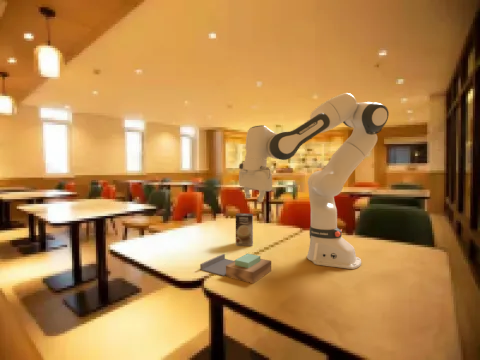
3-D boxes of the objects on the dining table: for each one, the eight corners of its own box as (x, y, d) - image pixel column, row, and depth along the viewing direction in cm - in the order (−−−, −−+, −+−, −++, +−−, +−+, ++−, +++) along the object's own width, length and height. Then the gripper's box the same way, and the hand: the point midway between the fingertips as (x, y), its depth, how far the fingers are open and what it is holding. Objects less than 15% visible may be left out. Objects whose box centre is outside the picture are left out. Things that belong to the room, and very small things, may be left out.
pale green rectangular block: (260, 261, 109) (260, 256, 109) (248, 268, 101) (248, 262, 101) (247, 258, 112) (247, 253, 112) (235, 265, 105) (234, 259, 105)
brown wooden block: (271, 270, 109) (271, 260, 109) (253, 283, 98) (252, 272, 97) (245, 264, 116) (245, 255, 116) (225, 276, 104) (225, 265, 104)
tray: (245, 264, 117) (245, 258, 116) (224, 276, 104) (224, 270, 104) (223, 259, 123) (222, 253, 123) (200, 269, 111) (200, 264, 111)
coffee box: (235, 246, 143) (234, 215, 143) (236, 242, 150) (236, 213, 149) (252, 246, 142) (252, 215, 142) (253, 242, 149) (253, 213, 148)
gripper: (277, 167, 104) (275, 203, 105) (249, 165, 122) (247, 196, 123) (263, 166, 101) (261, 204, 102) (236, 164, 119) (235, 196, 120)
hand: (253, 199), depth 113 cm, fingers open, 8 cm apart
